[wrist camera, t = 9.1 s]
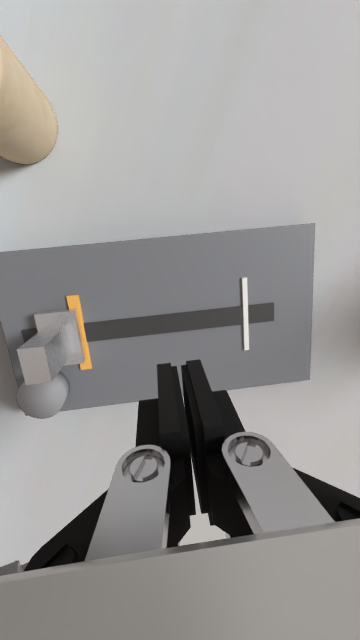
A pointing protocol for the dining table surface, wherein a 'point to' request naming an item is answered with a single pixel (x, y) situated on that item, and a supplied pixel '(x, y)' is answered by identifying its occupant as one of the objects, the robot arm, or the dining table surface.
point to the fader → (52, 346)
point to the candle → (23, 113)
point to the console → (165, 312)
